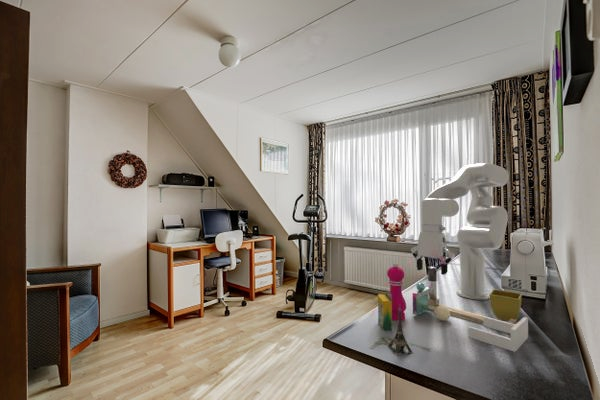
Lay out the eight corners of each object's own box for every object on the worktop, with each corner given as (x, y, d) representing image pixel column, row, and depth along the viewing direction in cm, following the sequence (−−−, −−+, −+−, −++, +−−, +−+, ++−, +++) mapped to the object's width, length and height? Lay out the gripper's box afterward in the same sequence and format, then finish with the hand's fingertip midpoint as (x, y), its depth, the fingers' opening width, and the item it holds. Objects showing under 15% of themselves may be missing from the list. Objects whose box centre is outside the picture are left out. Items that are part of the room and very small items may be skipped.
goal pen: (484, 324, 98) (484, 307, 98) (528, 337, 88) (527, 317, 88) (468, 336, 89) (467, 317, 89) (515, 351, 79) (514, 330, 80)
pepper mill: (408, 322, 100) (407, 265, 100) (386, 320, 101) (386, 264, 102) (404, 314, 107) (404, 261, 107) (384, 313, 108) (384, 260, 109)
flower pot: (489, 318, 103) (488, 293, 103) (493, 312, 109) (493, 288, 110) (519, 325, 97) (519, 299, 97) (522, 318, 103) (522, 293, 104)
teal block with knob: (429, 303, 116) (429, 266, 117) (439, 306, 113) (439, 267, 114) (409, 312, 106) (409, 271, 107) (419, 316, 103) (419, 273, 104)
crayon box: (377, 322, 100) (377, 288, 100) (386, 322, 100) (386, 289, 100) (383, 331, 93) (382, 295, 93) (392, 331, 93) (392, 295, 93)
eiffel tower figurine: (433, 351, 81) (432, 304, 81) (425, 367, 73) (425, 315, 73) (381, 337, 89) (381, 294, 90) (369, 350, 81) (369, 303, 81)
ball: (438, 316, 105) (438, 302, 105) (452, 320, 101) (452, 306, 101) (432, 319, 102) (431, 305, 102) (446, 324, 98) (446, 309, 98)
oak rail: (423, 303, 119) (422, 296, 119) (516, 329, 94) (516, 320, 94) (418, 305, 116) (418, 298, 116) (513, 332, 92) (512, 323, 92)
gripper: (458, 230, 110) (458, 274, 110) (416, 227, 124) (415, 267, 123) (449, 230, 105) (449, 277, 105) (406, 228, 119) (406, 269, 118)
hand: (431, 271), depth 114 cm, fingers open, 9 cm apart
